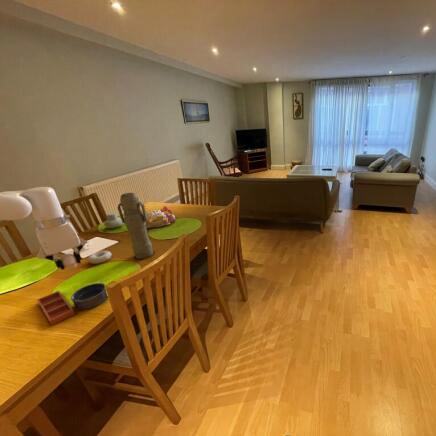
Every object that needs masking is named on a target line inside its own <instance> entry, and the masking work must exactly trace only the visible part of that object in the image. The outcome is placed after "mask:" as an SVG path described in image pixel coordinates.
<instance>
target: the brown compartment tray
mask: <svg viewBox="0 0 436 436" xmlns="http://www.w3.org/2000/svg"><path fill="white" fill-rule="evenodd" d="M36 301H37V303H38V304H39V306H40V308H41V309H42V311H43V313H44V315H45V316H46V318H47V320H48V322H49V323H50V325H51V326H54V325H57V324H58V323H60V322H62V321H64V320H66V319H68V318H70V317H73V316H74V315H76V313H75V310H74V308H73V307H72V306H71V304H70V303H69V302H68V300H67V299H66V298H65V296H64V295H63V294H62V292H61V291H60V290H57V291H55V292H52V293H50V294H47V295H45V296H42V297H40V298H38V299H36Z"/></svg>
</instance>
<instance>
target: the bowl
mask: <svg viewBox="0 0 436 436" xmlns="http://www.w3.org/2000/svg"><path fill="white" fill-rule="evenodd" d="M105 286H106V287H107V285H106V283H103V282H96V283H91V284H87V285H85V286H82V287H81V288H79V289H77V290H75V292H73V293H72V295H71V297H70V300H71V302H72V304H73V306H74V308H75V309H76V310H88V309H91V308H94V307H97V306H98V305H100V304H102V303H103V302H105V301H106V300H107V299H108V298H109V296H107V293H106V289H105Z"/></svg>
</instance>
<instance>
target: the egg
mask: <svg viewBox="0 0 436 436" xmlns="http://www.w3.org/2000/svg"><path fill="white" fill-rule="evenodd" d="M59 259H60V260H61V262H62V264H63V267H64V269H63V270H67V271H70V270H72V271H73V270H74V269H76V268H77V266H78V265H79V263H78V262H77V260H76V257H75V256H74V255H73V254H66V253H64V254H63V255H61V256H60V258H59Z"/></svg>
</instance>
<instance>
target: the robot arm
mask: <svg viewBox="0 0 436 436" xmlns="http://www.w3.org/2000/svg"><path fill="white" fill-rule="evenodd" d="M59 201H60V200H59V199H58V196H57V194H56V192H55V189H54V188H52V187H50V186H38V187H32V188H28V189H22V190H11V191H10V190H8V191H0V220H1V221H19V220H23V219H25V218H27V217H28V216H30V215H32V217H33V219H34V222H35V224H36V226H37V227H36V228H35V233H36V234H35V235H36V237H37V241H38V243H39V245H40V248H39V251H38V253H37V255H36V257H37V258H38V259H39V260H41V259H42V260H48V261H53V262H54V264H55V266H56V268H57V269H60V270H65V269H64V267H63V264H62V262H61V260H60V259H61V258H59V253H62V251H65V250H68V249H71V248H72V250H73V251H74V252H73V255H74V256H75V257H76V260H77V262H78V264H82V262H81V261H82V259H83V258H81V256H80V254H79V253H80V251H81V249H82V248H83V246H84V245H85V244H86V243H87V241H88V240H85V239H84V238H82V237H80V236H78V234H77V231H76V230H75V228H74V226H73V224H72V223H71V222H70V221H69V219H71V215H70V214H64V211H63V209H62V207H61V203H60V202H59ZM80 242H81V243H80Z"/></svg>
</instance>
